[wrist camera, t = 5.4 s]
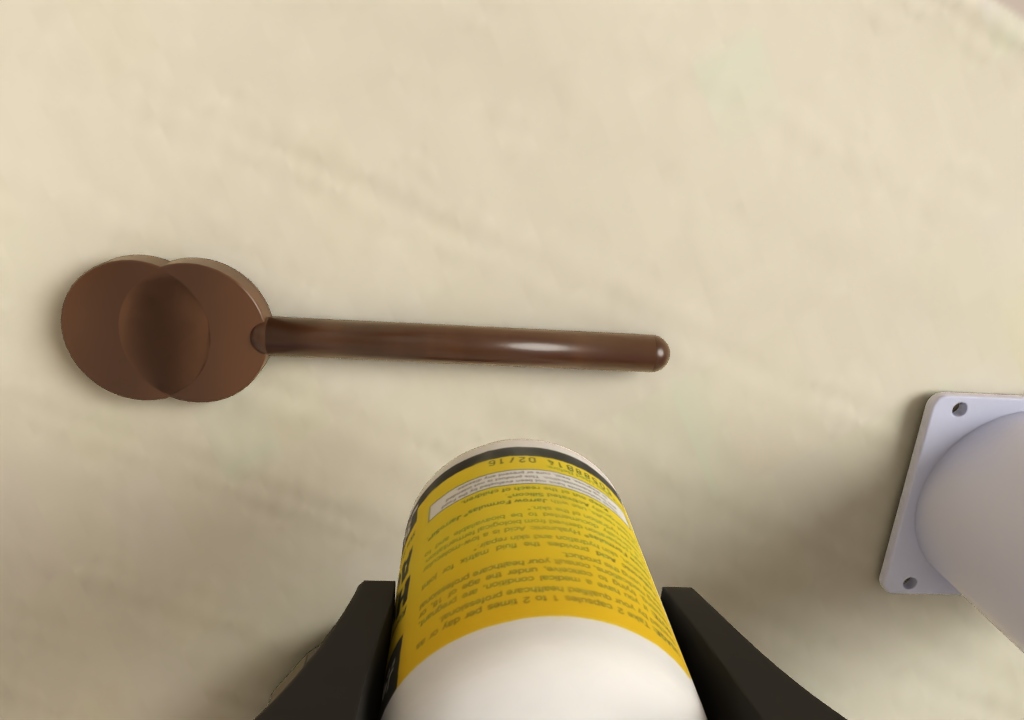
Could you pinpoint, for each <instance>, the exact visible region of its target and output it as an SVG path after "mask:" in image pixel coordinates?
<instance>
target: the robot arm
mask: <svg viewBox="0 0 1024 720" xmlns="http://www.w3.org/2000/svg"><path fill="white" fill-rule="evenodd" d="M957 403H960V406H959V407H958V409H957V410H956V411H954V412H952V409H953V407H954V406H955V405H956V404H957ZM908 578H910V579H909V580H908V581H907V582H905V583H904V581H905V580H906V579H908ZM879 582H880V584H881V586H882V587H883V588H884V589H885V590H886V591H887V592H888V593H892V594H937V595H963V596H964V597H965V598H966V599H967V600H968V601H969V602H970V603H971V604H973V605H974V606H975V607H976V608H977V609H978V610H979V611H980V612H981V613H982V614H983V615H984V616H985V617H986V618H987V619H988V620H989V621H990V622H991V623H992V624H994V625H995V626H996V627H997V628H998V629H999V630H1000V631H1001V632H1002V633H1003V634H1004V635H1005V636H1006V637H1007V638H1008V639H1009V640H1010V641H1011V642H1012V643H1014V644H1015V645H1016V646H1017V647H1018V648H1019V649H1020V650H1021V651H1022V652H1023V653H1024V395H1007V394H983V393H960V392H938V393H936V394H934V395H932V396H931V397H930V398H929V399H928V401H927V403H926V406H925V410H924V413H923V417H922V421H921V425H920V428H919V432H918V436H917V439H916V443H915V447H914V451H913V454H912V458H911V462H910V466H909V469H908V473H907V477H906V480H905V484H904V488H903V492H902V495H901V499H900V503H899V506H898V510H897V514H896V518H895V521H894V525H893V529H892V532H891V536H890V540H889V544H888V547H887V551H886V555H885V558H884V562H883V566H882V570H881V573H880V577H879ZM661 602H662V605H663V607H664V610H665V612H666V615H667V617H668V620H669V622H670V625H671V628H672V630H673V633H674V635H675V638H676V640H677V643H678V646H679V648H680V651H681V653H682V656H683V658H684V661H685V663H686V666H687V668H688V671H689V673H690V676H691V678H692V681H693V683H694V686H695V688H696V691H697V693H698V696H699V698H700V701H701V703H702V706H703V709H704V712H705V714H706V717H707V720H847V719H846V718H844V717H843V716H841V715H840V714H839V713H837V712H836V711H834V710H833V709H831V708H830V707H829V706H827V705H826V704H824V703H823V702H822V701H820V700H819V699H817V698H816V697H815V696H813V695H812V694H811V693H809V692H808V691H807V690H805V689H804V688H803V687H801V686H800V685H799V684H798V683H797V682H795V681H794V680H793V679H792V678H790V677H789V676H788V675H787V674H786V673H784V672H783V671H782V670H781V669H779V668H778V667H777V666H776V665H775V664H774V663H772V662H771V661H770V660H769V659H768V658H767V657H765V656H764V655H763V654H762V653H761V652H760V651H759V650H758V649H756V648H755V647H754V646H753V645H752V644H751V643H750V642H749V641H748V640H747V639H745V638H744V637H743V636H742V635H741V634H740V633H739V632H738V631H737V630H736V629H735V628H734V627H733V626H732V625H731V624H730V623H728V622H727V621H726V620H725V619H724V618H723V617H722V616H721V615H720V614H719V613H718V612H717V611H716V610H715V609H714V608H713V607H712V606H711V605H710V604H709V603H708V602H707V601H706V600H705V599H703V598H702V597H701V596H700V595H699V594H698V593H697V592H696V591H695V590H694V589H692V588H684V587H663V588H662V594H661ZM394 608H395V581H364V582H362V583H361V584H360V585H359V586H358V588H357V590H356V592H355V594H354V596H353V598H352V599H351V601H350V603H349V604H348V606H347V608H346V609H345V611H344V612H343V614H342V616H341V617H340V619H339V620H338V622H337V623H336V625H335V626H334V627H333V629H332V630H331V632H330V633H329V634H328V636H327V637H326V639H325V640H324V641H323V643H322V644H321V645H320V647H319V648H318V649H317V651H316V652H315V653H314V655H313V656H312V657H311V658H310V659H309V661H308V662H307V663H306V664H305V665H304V667H303V668H302V669H301V670H300V672H299V673H298V674H297V675H296V676H295V678H294V679H293V680H292V681H291V682H290V683H289V684H288V685H287V687H286V688H285V689H284V690H283V691H282V692H281V693H280V694H279V695H278V696H277V697H276V698H275V699H274V700H273V701H272V702H271V703H270V704H269V705H268V706H267V707H266V708H265V709H264V710H263V711H262V712H261V713H260V714H259V715H258V716H257V717H256V718H255V719H254V720H378V715H379V711H380V705H381V700H382V695H383V685H384V678H385V671H386V664H387V658H388V652H389V645H390V639H391V631H392V623H393V617H394Z"/></svg>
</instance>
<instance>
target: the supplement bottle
mask: <svg viewBox="0 0 1024 720" xmlns="http://www.w3.org/2000/svg"><path fill="white" fill-rule="evenodd" d="M378 720H707V717H706V714H705V712H704V709H703V706H702V703H701V701H700V698H699V696H698V693H697V691H696V688H695V686H694V683H693V681H692V678H691V676H690V673H689V671H688V668H687V666H686V663H685V661H684V658H683V656H682V653H681V651H680V648H679V646H678V643H677V640H676V638H675V635H674V633H673V630H672V628H671V625H670V622H669V620H668V617H667V615H666V612H665V610H664V607H663V605H662V602H661V599H660V597H659V594H658V592H657V589H656V587H655V584H654V582H653V579H652V576H651V574H650V571H649V569H648V566H647V564H646V561H645V559H644V556H643V553H642V551H641V548H640V546H639V543H638V541H637V538H636V535H635V533H634V530H633V528H632V525H631V523H630V520H629V518H628V515H627V513H626V510H625V508H624V505H623V503H622V501H621V499H620V497H619V495H618V493H617V491H616V490H615V488H614V487H613V485H612V484H611V482H610V481H609V479H608V478H607V477H606V476H605V475H604V474H603V473H602V472H601V471H600V470H599V468H597V467H596V466H595V465H594V464H593V463H591V462H590V461H589V460H587V459H586V458H584V457H583V456H581V455H580V454H578V453H576V452H574V451H572V450H570V449H568V448H566V447H563V446H560V445H557V444H554V443H550V442H545V441H540V440H531V439H513V440H503V441H497V442H493V443H489V444H486V445H483V446H480V447H477V448H474V449H472V450H470V451H468V452H465V453H464V454H462V455H460V456H458V457H456V458H455V459H453V460H452V461H450V462H449V463H447V464H446V465H445V466H443V467H442V468H441V469H440V470H439V471H438V472H437V473H435V475H434V476H433V477H432V478H431V479H430V480H429V481H428V482H427V484H426V485H425V486H424V488H423V489H422V491H421V492H420V494H419V495H418V497H417V499H416V501H415V503H414V506H413V508H412V510H411V513H410V516H409V520H408V524H407V528H406V533H405V538H404V542H403V550H402V558H401V565H400V572H399V580H398V586H397V593H396V600H395V608H394V617H393V623H392V631H391V639H390V645H389V652H388V658H387V664H386V671H385V678H384V685H383V695H382V700H381V705H380V711H379V715H378Z"/></svg>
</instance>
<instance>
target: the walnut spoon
mask: <svg viewBox="0 0 1024 720" xmlns="http://www.w3.org/2000/svg"><path fill="white" fill-rule="evenodd" d="M61 329H62V334H63V339H64V341H65V344H66V347H67V349H68V351H69V353H70V355H71V357H72V359H73V360H74V362H75V363H76V365H77V366H78V367H79V368H80V369H81V370H82V372H83V373H84V374H85V375H87V376H88V377H89V378H90V379H91V380H92V381H94V382H95V383H96V384H98V385H99V386H101V387H103V388H104V389H106V390H108V391H110V392H112V393H114V394H117V395H120V396H123V397H127V398H131V399H138V400H158V399H164V398H168V397H173V398H176V399H179V400H184V401H189V402H212V401H218V400H222V399H225V398H228V397H230V396H233V395H235V394H236V393H238V392H240V391H242V390H243V389H244V388H245V387H247V386H248V385H249V384H250V383H251V382H252V381H253V380H254V379H255V377H256V376H257V375H258V374H259V372H260V371H261V370H262V368H263V367H264V365H265V364H266V362H267V360H268V358H269V356H270V355H273V356H295V357H318V358H341V359H364V360H387V361H409V362H432V363H455V364H478V365H501V366H523V367H546V368H569V369H592V370H614V371H637V372H655V371H658V370H660V369H662V368H663V367H665V365H666V364H667V363H668V360H669V357H670V349H669V347H668V344H667V343H666V342H665V341H664V340H663V339H662V338H660V337H659V336H656V335H643V334H622V333H602V332H581V331H561V330H540V329H519V328H499V327H478V326H457V325H437V324H416V323H395V322H375V321H354V320H333V319H313V318H292V317H272V315H271V312H270V309H269V307H268V304H267V303H266V301H265V299H264V297H263V296H262V294H261V293H260V291H259V290H258V289H257V288H256V286H255V285H254V284H253V283H252V282H251V281H250V280H249V279H247V278H246V277H245V276H244V275H243V274H241V273H240V272H238V271H237V270H235V269H233V268H231V267H229V266H227V265H225V264H222V263H220V262H217V261H213V260H209V259H203V258H184V259H177V260H174V261H168V260H165V259H162V258H158V257H154V256H147V255H129V256H122V257H119V258H115V259H112V260H110V261H107V262H105V263H102V264H100V265H98V266H95V267H93V268H92V269H90V270H88V271H87V272H85V273H84V274H83V275H82V276H80V277H79V278H78V279H77V280H76V282H75V283H74V284H73V285H72V287H71V288H70V290H69V291H68V293H67V295H66V298H65V300H64V304H63V308H62V314H61Z"/></svg>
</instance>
